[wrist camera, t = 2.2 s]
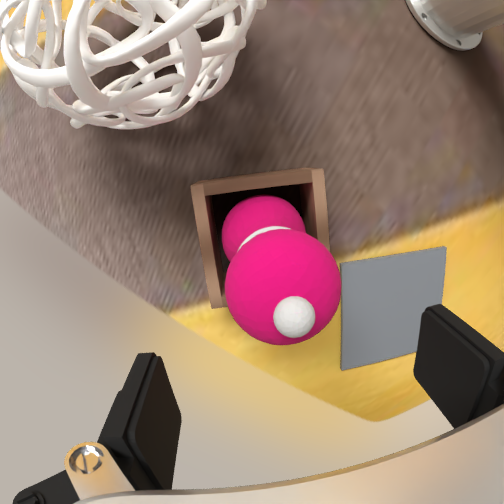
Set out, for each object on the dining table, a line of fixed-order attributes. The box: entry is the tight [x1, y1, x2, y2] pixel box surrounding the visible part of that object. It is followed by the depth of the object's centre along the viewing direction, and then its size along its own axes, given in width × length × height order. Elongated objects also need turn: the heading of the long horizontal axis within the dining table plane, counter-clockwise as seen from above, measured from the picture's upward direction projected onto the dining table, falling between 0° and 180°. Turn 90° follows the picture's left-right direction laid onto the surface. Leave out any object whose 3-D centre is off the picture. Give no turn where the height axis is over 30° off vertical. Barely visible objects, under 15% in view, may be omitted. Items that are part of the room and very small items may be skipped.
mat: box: [340, 246, 447, 370], centre depth 35 cm, size 14×14×1 cm
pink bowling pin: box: [222, 194, 341, 345], centre depth 22 cm, size 7×7×20 cm
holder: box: [190, 168, 330, 309], centre depth 29 cm, size 11×11×6 cm
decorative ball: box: [0, 0, 267, 129], centre depth 17 cm, size 20×20×19 cm
